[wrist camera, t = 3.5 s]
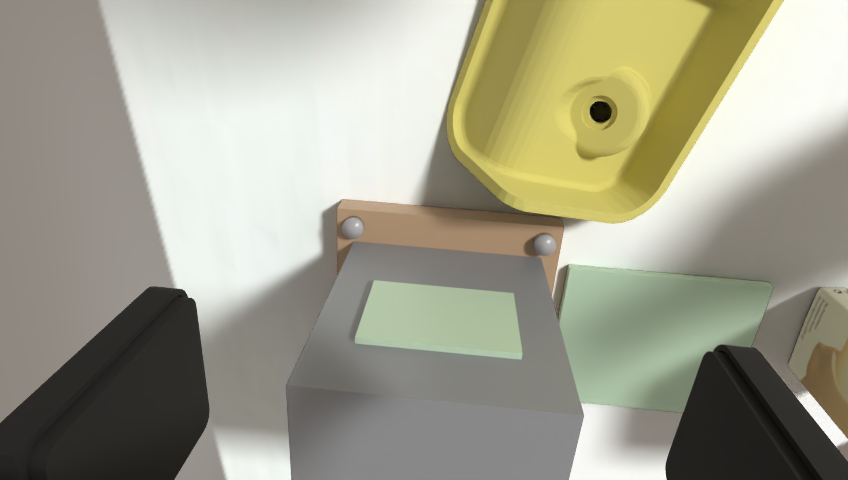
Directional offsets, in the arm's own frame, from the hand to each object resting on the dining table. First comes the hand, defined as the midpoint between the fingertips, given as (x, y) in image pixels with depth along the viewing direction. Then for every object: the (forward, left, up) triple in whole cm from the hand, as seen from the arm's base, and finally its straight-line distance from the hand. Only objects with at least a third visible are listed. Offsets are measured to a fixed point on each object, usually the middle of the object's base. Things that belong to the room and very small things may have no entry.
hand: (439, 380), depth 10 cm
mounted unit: (+11, 0, -22) cm, 25 cm away
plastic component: (-6, +8, -23) cm, 25 cm away
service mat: (+13, +13, -22) cm, 29 cm away
